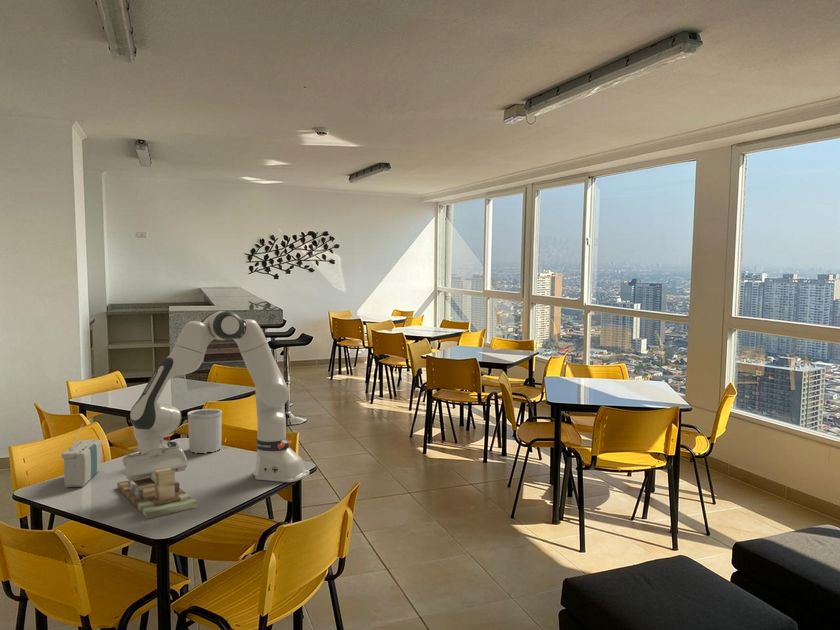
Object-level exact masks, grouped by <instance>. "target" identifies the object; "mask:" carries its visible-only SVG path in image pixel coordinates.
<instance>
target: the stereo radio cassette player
mask: <svg viewBox="0 0 840 630" xmlns="http://www.w3.org/2000/svg"><path fill="white" fill-rule="evenodd" d="M83 425H84V423H81V426H80V428H79V430H78V431H77V433H76V435H75V438H74V440H73V442H72V444H71V447H69V448H68V449H66V450H65V451H63V453H61V459H63V472H64V473H63V474H64V475H63V476H64V477H63V479H64V481H63V482H64V487H65V488H79V487H80V488H83V487H84V486H86V484H87V483H88V482H89V481H90V480H91V479H92V478H93V477H94V476H96V475H97V473H99V472H100V471H101V470H102V467H103V447H102V446H103V445H102V440H101V439H81V440H78V441H77V439H78V436H79V434H80V431H81V429H82V427H83ZM76 441H77V442H76Z"/></svg>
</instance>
